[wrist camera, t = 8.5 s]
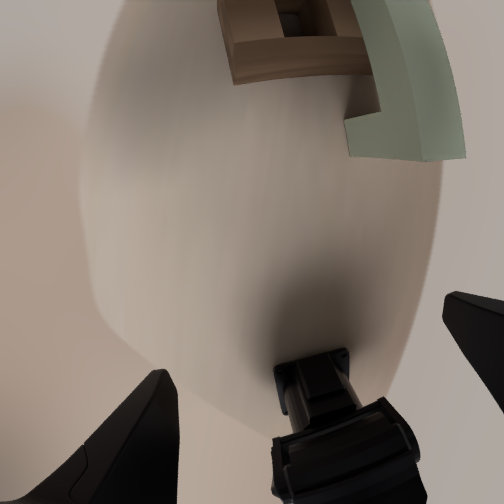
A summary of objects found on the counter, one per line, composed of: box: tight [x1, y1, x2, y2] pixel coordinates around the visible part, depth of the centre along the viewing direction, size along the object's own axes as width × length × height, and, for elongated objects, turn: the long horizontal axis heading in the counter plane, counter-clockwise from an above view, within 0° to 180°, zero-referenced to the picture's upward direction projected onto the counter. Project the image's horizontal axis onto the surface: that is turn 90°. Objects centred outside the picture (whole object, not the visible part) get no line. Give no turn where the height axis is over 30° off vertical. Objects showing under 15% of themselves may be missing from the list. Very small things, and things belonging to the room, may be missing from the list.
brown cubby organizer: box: [217, 0, 373, 85], centre depth 13 cm, size 6×12×5 cm, turn 101°
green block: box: [344, 0, 466, 162], centre depth 13 cm, size 10×3×8 cm, turn 11°
